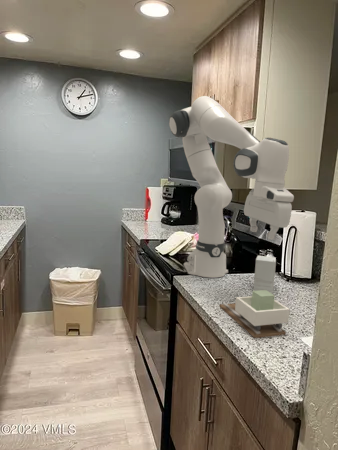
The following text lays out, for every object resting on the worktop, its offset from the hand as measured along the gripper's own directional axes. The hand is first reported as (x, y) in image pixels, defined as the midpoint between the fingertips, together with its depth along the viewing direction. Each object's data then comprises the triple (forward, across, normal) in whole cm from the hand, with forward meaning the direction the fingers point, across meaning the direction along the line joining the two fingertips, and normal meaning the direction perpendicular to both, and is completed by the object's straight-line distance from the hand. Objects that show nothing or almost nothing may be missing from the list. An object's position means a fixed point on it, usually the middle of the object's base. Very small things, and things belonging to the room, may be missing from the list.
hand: (261, 235), depth 110 cm
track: (+25, +7, -4) cm, 27 cm away
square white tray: (+23, +12, -4) cm, 27 cm away
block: (+20, +12, -4) cm, 24 cm away
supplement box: (+26, -16, +16) cm, 35 cm away
